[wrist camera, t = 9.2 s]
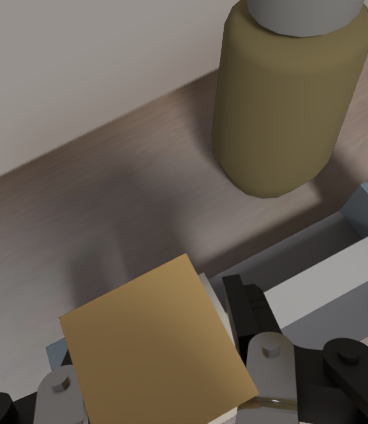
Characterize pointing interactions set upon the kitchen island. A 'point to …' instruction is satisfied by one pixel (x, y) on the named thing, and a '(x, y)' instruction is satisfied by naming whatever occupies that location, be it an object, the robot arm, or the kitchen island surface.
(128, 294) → the carriage
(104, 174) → the kitchen island surface
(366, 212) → the rail bed
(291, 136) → the squeeze bottle
